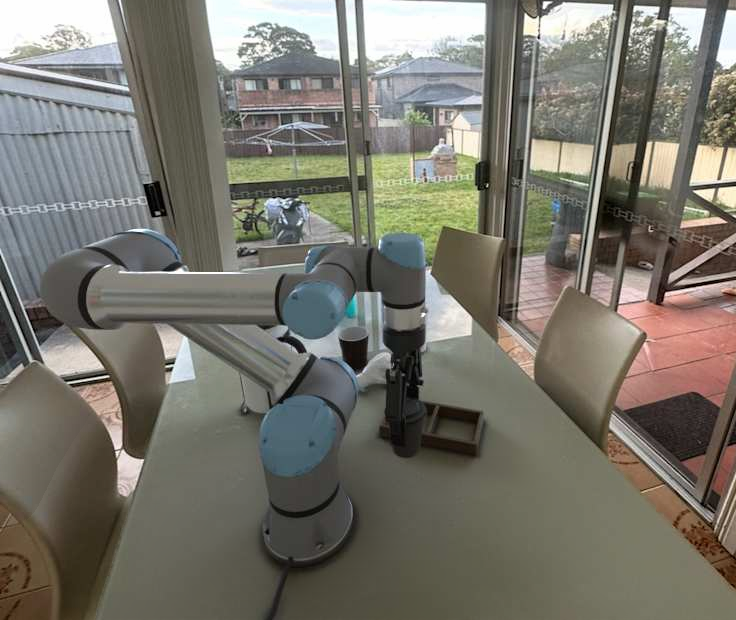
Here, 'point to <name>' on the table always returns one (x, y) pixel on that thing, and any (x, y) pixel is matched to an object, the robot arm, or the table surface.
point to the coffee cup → (411, 427)
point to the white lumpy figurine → (374, 371)
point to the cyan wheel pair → (351, 308)
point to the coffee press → (253, 392)
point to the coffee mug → (354, 346)
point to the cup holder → (445, 441)
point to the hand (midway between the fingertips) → (405, 428)
